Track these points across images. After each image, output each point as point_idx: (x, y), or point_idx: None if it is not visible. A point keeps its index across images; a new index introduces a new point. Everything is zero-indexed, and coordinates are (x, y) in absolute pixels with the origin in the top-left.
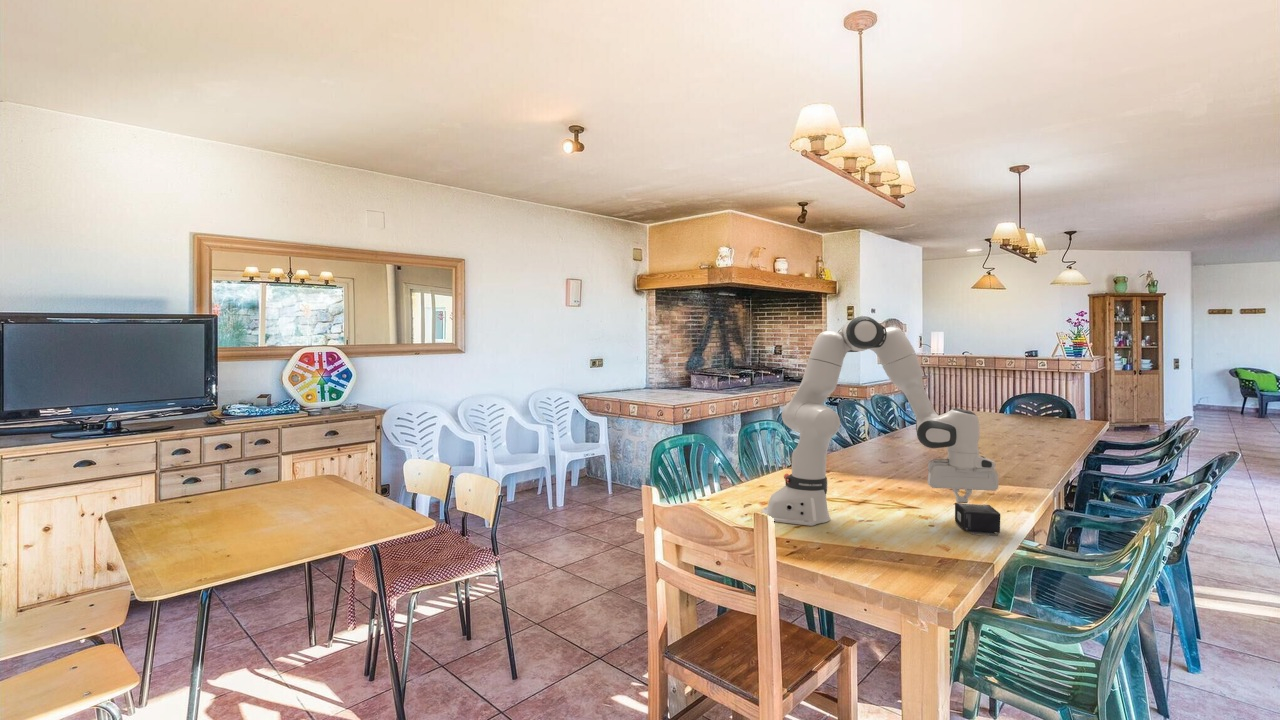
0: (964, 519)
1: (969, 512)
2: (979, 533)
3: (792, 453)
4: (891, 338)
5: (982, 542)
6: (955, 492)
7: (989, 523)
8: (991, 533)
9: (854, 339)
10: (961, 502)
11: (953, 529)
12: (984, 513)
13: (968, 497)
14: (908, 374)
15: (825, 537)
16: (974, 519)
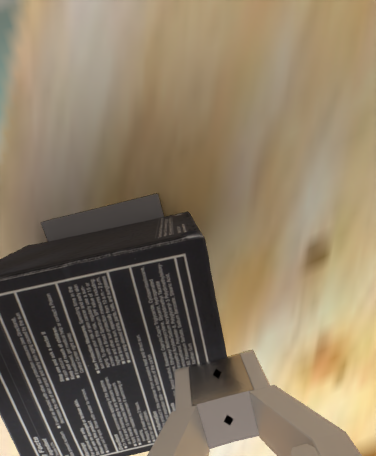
0: (193, 221)
1: (165, 240)
2: (121, 208)
3: None
4: None
5: (112, 73)
6: (332, 433)
7: (56, 247)
8: (69, 235)
9: None
10: (223, 358)
11: (229, 238)
12: (59, 264)
13: (168, 418)
14: None
15: None
16: (136, 234)
